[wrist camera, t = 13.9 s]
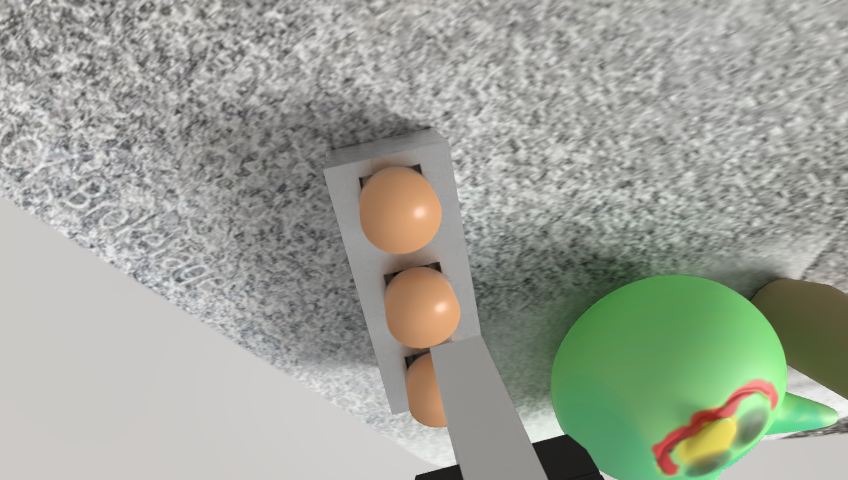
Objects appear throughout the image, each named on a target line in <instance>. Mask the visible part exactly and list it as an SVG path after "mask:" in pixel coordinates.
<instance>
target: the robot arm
mask: <svg viewBox="0 0 848 480" xmlns="http://www.w3.org/2000/svg"><path fill="white" fill-rule="evenodd" d="M430 352H431V357H432V361H433V365H434V370H435V374H436V379H437V383H438V388H439V392H440V397H441V401H442V405H443V410H444V414H445V419H446V423H447V427H448V431H449V435H450V439H451V443H452V446H453V450H454V454H455V458H456V462H457V465H454V466H450V467H446V468H442V469H439V470H435V471H431V472H428V473H423V474H420V475H416V477H415V480H604V478H603V476H602V475H600V472H599V470H598V468H597V466H596V465H595V463H594V461H593V459H592V458H591V456H590V454H589V453H588V451H587V449H585V448H584V447H583V446H582V445H580V444H579V443H578V442H577V441H575V440H574V439H573V438H572V437H570V436H569V435H568V434H566V435H562V436H558V437H554V438H551V439H547V440H543V441H539V442H535V443H532V444H531V442H530V439H529V437H528V435H527V433H526V431H525V429H524V426H523V424H522V422H521V420H520V418H519V415H518V413H517V411H516V409H515V407H514V405H513V402H512V400H511V398H510V396H509V394H508V392H507V389H506V387H505V385H504V383H503V381H502V378H501V376H500V374H499V372H498V370H497V368H496V365H495V363H494V361H493V359H492V357H491V355H490V352H489V350H488V348H487V346H486V344H485V341H484V339H483V337H482V335H479V336H475V337H471V338H467V339H463V340H459V341H455V342H451V343H446V344H442V345H438V346H434V347H430Z"/></svg>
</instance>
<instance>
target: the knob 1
mask: <svg viewBox="0 0 848 480" xmlns="http://www.w3.org/2000/svg"><path fill="white" fill-rule="evenodd" d="M359 213H360V223H361V227H362V230H363V232H364V234H365V236H366V237H367V239H368V240H369V241H370V242H371V243H372V244H373V245H374V246H376V247H377V248H379V249H381V250H383V251H385V252H388V253H393V254H406V253H411V252H414V251H416V250H419V249H420V248H422V247H424V246H425V245H426V244H428V243H429V242H430V241H431V240H432V238H433V237H434V236H435V234H436V233H437V231H438V229H439V226H440V223H441V216H442V211H441V205H440V202H439V199H438V197H437V195H436V194H435V192H434V190H433V189H432V187H431V185H430V184H429V182H428V181H427V180H426V178H425V177H424V176H423V175H421V174H420V173H418V172H417V171H415V170H413V169H410V168H406V167H389V168H386V169H383V170H381V171H379V172H377V173H375V174H373V175H372V176H371V177H370V178H369V180H368V181H367V182H366V183H365V185H364V187H363V188H362V191H361V194H360V198H359Z"/></svg>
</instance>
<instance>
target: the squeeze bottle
mask: <svg viewBox="0 0 848 480" xmlns="http://www.w3.org/2000/svg"><path fill="white" fill-rule="evenodd" d="M750 302H751V303H752V304H753V305H754V306H755V307H756V308H757V309H758V310H759V311H760V312H761V313H762V314H763V315H764V317H765V318H766V319H767V320H768V322H769V323H770V324H771V326H772V327H773V329H774V331H775V332H776V334H777V336H778V338H779V340H780V343H781V345H782V348H783V351H784V355H785V359H786V364H787V365H789V366H790V367H792V368H794V369H796V370H797V371H799V372H801V373H802V374H804V375H806V376H808V377H809V378H811V379H813V380H815V381H816V382H818V383H820V384H821V385H823V386H825V387H827V388H828V389H830V390H832V391H834V392H835V393H837V394H839V395H840V396H842V397H844V398H846V399H847V400H848V295H847V294H845V293H844V292H842V291H840V290H838V289H836V288H834V287H832V286H830V285H826V284H820V283H813V282H807V281H800V280H794V279H778V280H775V281H773V282H771V283H768V284H767V285H765V286H764V287H763V288H761V289H760V290H759V291H758V292H757V293H756V294H755V296H754V297H753V298H752V300H751V301H750Z"/></svg>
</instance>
